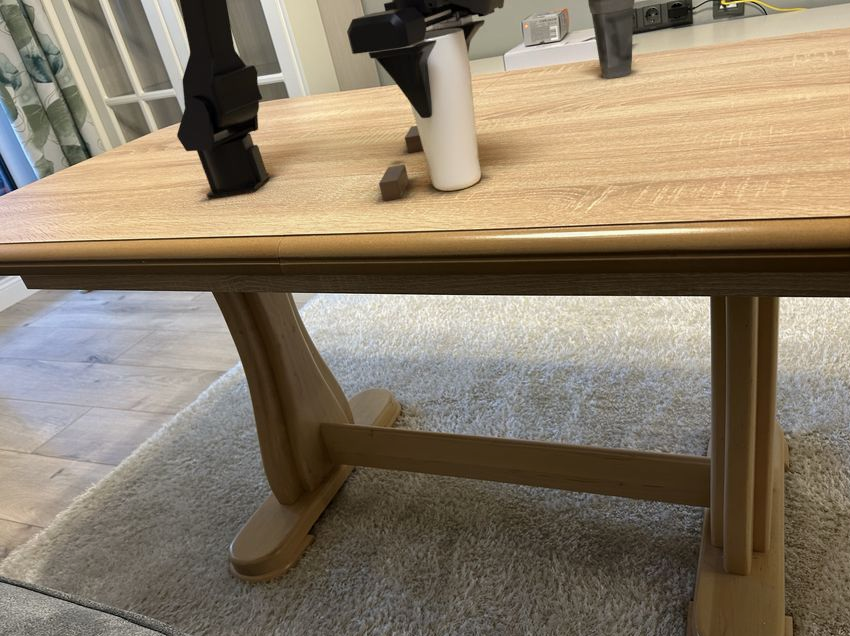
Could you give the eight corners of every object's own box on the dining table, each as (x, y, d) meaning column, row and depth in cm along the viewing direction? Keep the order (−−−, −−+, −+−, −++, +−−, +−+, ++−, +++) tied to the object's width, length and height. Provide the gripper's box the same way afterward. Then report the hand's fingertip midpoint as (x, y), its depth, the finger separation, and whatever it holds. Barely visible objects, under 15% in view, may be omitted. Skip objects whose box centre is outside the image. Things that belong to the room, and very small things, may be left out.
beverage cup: (585, 77, 114) (572, -64, 104) (626, 67, 115) (617, -74, 105) (606, 82, 108) (595, -68, 98) (649, 71, 109) (642, -78, 99)
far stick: (422, 150, 92) (419, 135, 91) (407, 152, 92) (404, 137, 91) (428, 138, 97) (425, 124, 96) (413, 141, 97) (410, 126, 96)
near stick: (401, 198, 75) (396, 180, 74) (383, 201, 76) (378, 183, 75) (408, 181, 81) (405, 164, 80) (391, 183, 81) (387, 166, 80)
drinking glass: (482, 191, 73) (455, 34, 65) (419, 197, 74) (387, 46, 67) (493, 170, 78) (470, 24, 71) (435, 177, 80) (406, 35, 72)
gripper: (437, -75, 54) (472, 130, 62) (530, -90, 68) (549, 79, 75) (323, -50, 59) (368, 136, 67) (430, -68, 73) (458, 88, 81)
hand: (443, 108), depth 72 cm, fingers closed on drinking glass, 6 cm apart
